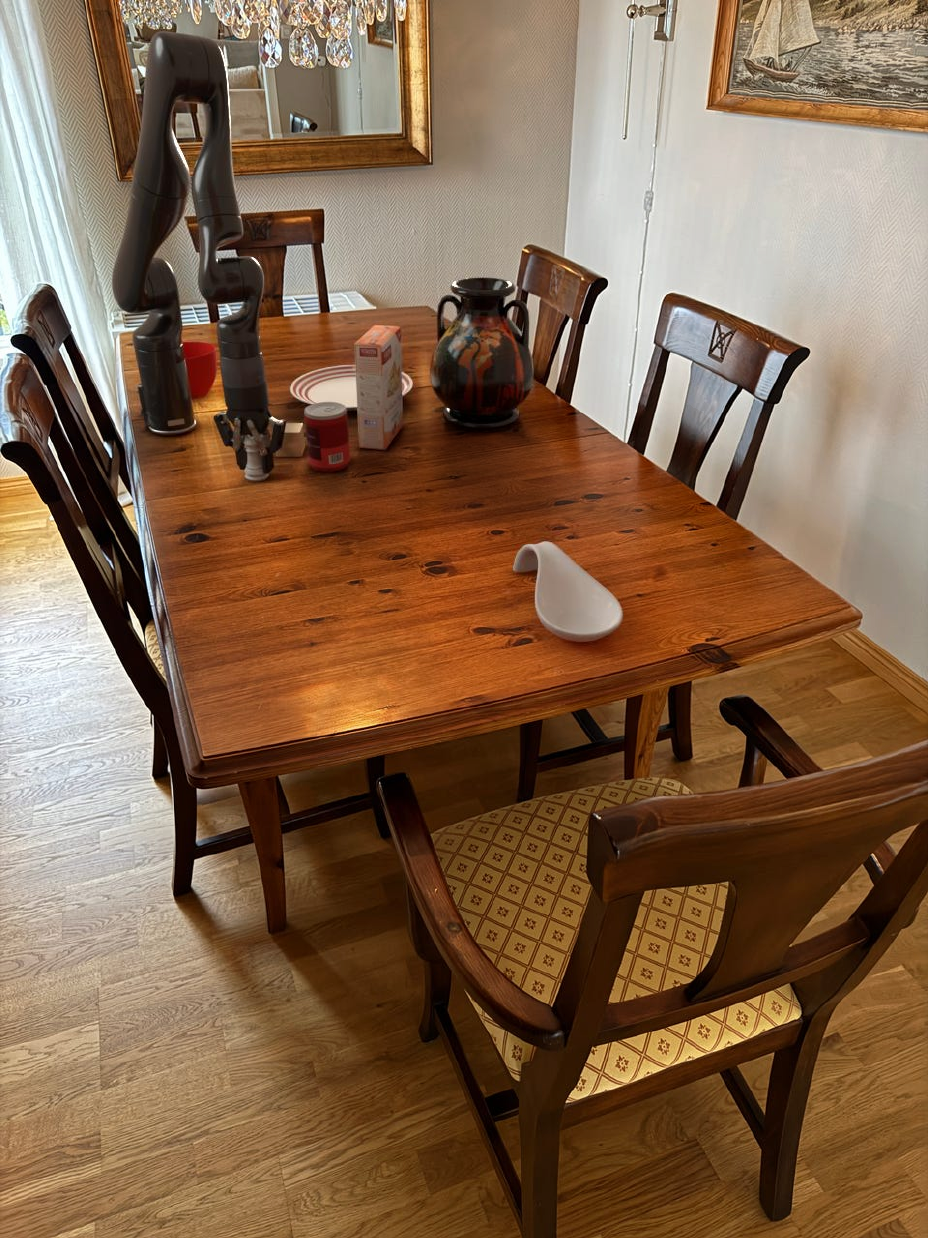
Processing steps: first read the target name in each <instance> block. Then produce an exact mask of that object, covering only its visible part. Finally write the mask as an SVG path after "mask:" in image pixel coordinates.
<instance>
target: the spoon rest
mask: <svg viewBox="0 0 928 1238" xmlns="http://www.w3.org/2000/svg"><path fill="white" fill-rule="evenodd" d="M512 570H513V572H515V573H527V572H531V571H537V575H536V582H535V590H534V607H535V611H536V614H537V617H538V619H539V621H540V622H541V624H542V625H543V627H544V628H546V630H548V631H549V632H550V633H552V634H553V635H554V636H556V637H558V638H560V639H562V640H566V641H570V642H575V643H587V642H593V641H597V640H601V639H603V638H605V637H606V636H609V635H610V634H612V633H613V632H614V631H616V630H617V629H618V628H619V626H620V625H621V624H622V622H623V618H624V611H623V607H622V606H621V603H620V601H619V600H618V599H617V598H616V597H615V595H613V594H612V592H611V591H610V590H608V589H607V588H606V587H605V586H604V585H603V584H601V583H600V582H599V581H598V580H597V579H595V578H594V577H593V576H592V575H591V574H590V573H588V572H587V571H586V570H585V569H583V568H582V567H581V566H580V565H579V564H578V563H576V562H575V561H574V560H573V559H572V558H571V557H569V555H568V554H567V553H566V552H564V551H563V550H562V549H561V548H560V547H559V546H557V545H556V544H554V543H553V542H551V541H541V542H539V543H527V544H525V545H523V546H522V547H521V548H520V549H519V550H518V551H517V554H516V556H515V559H514V562H513V567H512Z"/></svg>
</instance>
